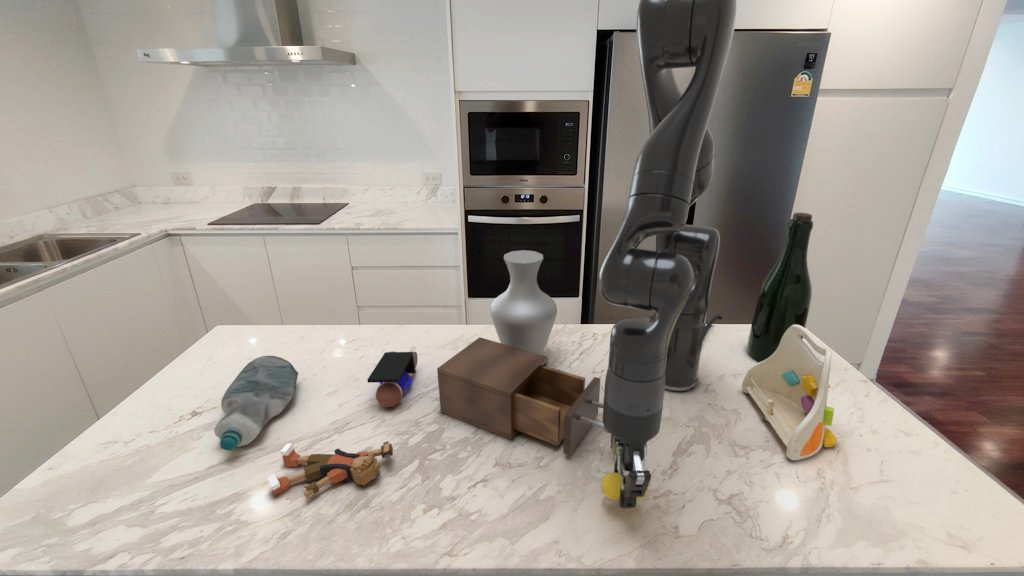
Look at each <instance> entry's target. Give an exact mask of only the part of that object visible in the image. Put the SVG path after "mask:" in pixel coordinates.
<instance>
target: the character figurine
mask: <svg viewBox="0 0 1024 576" xmlns="http://www.w3.org/2000/svg"><path fill="white" fill-rule="evenodd" d="M333 453H334V454H331V453H330V454H329V453H311V454H310V455H309V454H308V455H302V456H301V455H300V454H299V453H296V450H295V447H294V444H293V443H286V444H285V446H284V447H283V448H282V449H281V450H280V454H281V456H282V461H283V463H284V466H285V467H286V468H287V467H288V468H289V467H291V468H297V467H299V466H300V465H303V466H306V467H304V468H303V469H304V470H303V471H302V472H300V473H297V474H294V475H292V476H289V477H288V476H281V477H278V476H277V475H276V473H273V474H272V475H269V476H268V477H267V481H268V484H269V486H270V488H271V490H272V493H273V495H274V496H277V495H279V494H281V493H283V492H285V491H288V490H289V489H290V487H291V485H292V484H296V483H299V482H301V481H305V480H306V481H307V482H309V481H313V482H311V483H309V484H308V483H305V484H303V488H304V490H303V491H302V493H303V496H304V497H305V498H306V499H310V498H311V497H312V496H314V495H316V494H317V493H319V492H320V489H323V488H324V487H326V486H327V485H329V484H331V485H333V484H338V483H339V482H342V481H344V482H348V481H350V480H351V479H352V480H353V481H354V482H355V483H356V484H357V485H362V486H365V485H367V484H369V483H370V482H371V481H372V480H374V479H375V478H376V477H377V475H378V474H379V473H380V472H381V465H380V462H378V458H377V457H379V456H381V458H382V459H384V460H385V462H389V461H391V460H392V456H394V448H393V444H392V443H390V442H389V441H385V442H382V445H380V448H378V449H374V450H370V451H365V450H364V451H358V452H355V453H354V452H353V453H352V452H347V451H343V450H341V449H340V448H336V449H334V452H333ZM321 477H322V478H321ZM319 478H321V479H319ZM316 479H319V480H318V481H315V480H316Z"/></svg>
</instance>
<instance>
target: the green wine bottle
mask: <svg viewBox="0 0 1024 576" xmlns="http://www.w3.org/2000/svg"><path fill="white" fill-rule="evenodd" d="M812 219H813V215H812V214H811V213H807V212H794V213H793V215H792V217H791V218H790V219H789V221H788V223H787V231H786V235H785V239H784V243H783V246H782V249H781V251H780V255H779V256H778V258H777V260H776V261H775V263H774V265H773V266H772V267H771V269H770V270H769V271H768V273H767V275H766V276H765V277H764V279H763V281H762V283H761V285H760V288H759V292H758V295H757V299H756V303H755V308H754V312H753V317H752V321H751V326H750V329H749V334H748V339H747V344H746V351H747V353H748V354H749V355H750V356H751V357H752V358H753V359H755V360H757V361H759V362H762V361H764V360H766V359H767V358H769V357H770V356H771V355H772V354H773V353H774V352H775V351H776V350H777V348H778V346H779V344H780V341H781V339H782V337H783V335H784V333H785V332H786V331H787V329H788V328H789V327H791V326H792V325H800V326H802V327H804V328H805V329H806V327H807V322H808V317H809V314H810V308H811V301H812V297H813V287H812V280H811V276H810V271H809V266H808V253H809V252H808V250H809V244H810V238H811V233H812V231H813V228H814V221H813V220H812ZM801 339H802V340H803V341H804V338H803V337H802V336H801Z"/></svg>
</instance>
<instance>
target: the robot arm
mask: <svg viewBox="0 0 1024 576" xmlns="http://www.w3.org/2000/svg"><path fill="white" fill-rule="evenodd" d="M736 17H737V0H639V3H638V7H637V12H636V21H635V22H636V27H635V28H636V44H637V53H638V59H639V67H640V72H641V76H642V84H643V89H644V95H645V101H646V108H647V116H648V127H649V136H648V138H647V139H646V140H645V141H644V143H643V144H642V146H641V148H640V151H639V152H638V155H637V158H636V160H635V164H634V167H633V173H632V178H631V182H630V189H629V194H628V199H627V205H626V209H625V213H624V215H623V218H622V221H621V223H620V226H619V228H618V230H617V233H616V235H615V237H614V240H613V241H612V244H611V245H610V247H609V249H608V251H607V253H606V255H605V256H604V259H603V261H602V264H601V266H600V269H599V271H598V278H597V284H598V290H599V293H600V295H601V297H602V299H604V301H605V302H607V303H608V304H610V305H614V306H618V307H625V308H631V309H636V310H642V311H649V312H654V313H653V314H652V315H647V316H638V317H637V316H636V317H627V318H624V319H620V320H619V321H616V322H615V324H613V326H612V328H611V330H610V335H609V350H608V364H607V370H606V374H605V380H604V392H603V393H604V394H603V404H604V405H603V408H602V423H603V424H604V426H605V428H606V429H607V431H608V432H609V433H610V434H609V433H608V434H609V435H610V449H611V451H612V461H613V464H614V465H613V473H619V475H620V476H621V480H620V497H619V500H618V505H619V508H620V509H623V510H625V509H635V508H636V506H637V500H636V499H637V497H643V498H645V496H644V494H645V492H646V490H647V487H648V488H649V484H650V482H651V478H652V474H651V471H650V470H646V469H645V467H646V466H645V463H646V456H647V454H648V444H647V443H648V442H649V441H651V440H652V439H654V438H655V437H656V436H657V435H658V434H659V432H660V429H661V424H662V423H661V422H662V416H663V408H664V407H663V406H664V399H665V392H666V391H667V390H668V391H672V392H686V391H687V392H688V391H690V390H692V389H694V388H695V387H696V385H697V380H698V372H699V366H700V361H701V353H702V348H703V347H702V346H703V342H704V341H703V340H704V338H705V337H706V334H707V332H708V330H709V328H710V327H711V326H712V325H713V324H714V323H715V321H717V320H722V319H723V317H722V316H721V314H716V315H714V316H713V317H712V318H711V319H710V320H709V321H708V322H707V324H706V321H707V315H708V309H709V304H710V295H711V291H712V290H711V289H712V283H713V279H714V274H715V270H716V265H717V262H718V261H717V260H718V257H719V251H720V244H721V236H720V232H719V230H718V229H717V228H716V227H711V226H705V225H704V226H703V225H695V224H686V223H687V220H688V217H689V210H690V208H691V207H692V205H694V204H695V203H696V202H697V201H698V200H699V199H700V198H701V197H702V196H703V195H704V194H705V192H706V191H707V190H708V188H709V187H710V185H711V183H712V181H713V177H714V170H715V169H714V168H715V145H716V144H715V139H714V136H713V134H712V132H711V130H710V128H709V126H708V125H709V122H710V120H711V116H712V113H713V109H714V106H715V103H716V100H717V98H718V97H717V96H718V93H719V90H720V86H721V83H722V79H723V76H724V72H725V69H726V65H727V61H728V58H729V55H730V51H731V47H732V43H733V38H734V34H735V27H736ZM687 68H689V69H690V68H695V69H694V72H693V75H692V77H691V79H690V81H689V83H688V85H687V87H686V89H685V91H684V92H683V93H682V91H681V89H680V87H679V85H678V83H677V80H676V77H675V74H674V71H673V70H674V69H687ZM654 236H655V250H652V249H644V248H638V247H639V246H640V244H641V243H642V242H643V241H644V240H646V239H647V238H649V237H654ZM627 476H628V477H627ZM626 477H627V480H626Z"/></svg>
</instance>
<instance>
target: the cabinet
mask: <svg viewBox="0 0 1024 576" xmlns="http://www.w3.org/2000/svg"><path fill="white" fill-rule="evenodd" d="M543 365H544V366H547V367H549V357H548V356H546V355H543V354H542V355H540V354H536V353H533V352H529V351H526V350H522V349H519V348H515V347H512V346H508V345H505V344H501V342H498V341H494V340H491V339H487V338H483V337H480V336H479V337H478V338H476V339H475V340H474V341H473V342H471V343H470V344H468V345H467V346H465V347H464V348H463V349H462V350H460V351H459V352H457V353H456V354H455V355H453V356H452V357H450V358H449V359H448V360H447V361H445V362H444V363H442V364H441V365H439V366H438V367H437V368H436V371H437V382H438V383H437V384H438V395H439V404H440V405H439V408H440V413H443V414H445V415H447V416H450V417H452V418H455V419H457V420H460V421H462V422H465V423H467V424H470V425H472V426H475V427H477V428H480V429H482V430H484V431H488V432H490V433H493V434H495V435H497V436H500V437H502V438H505V439H507V440H510V441H512V440H513V439H514V438H515V437H516V435H517V434H518V433H519V432H520V431H518V430H515V429H514V422H513V395H514V394H515V393H516V392H517V391H518V390H519V389H520V388H521V387H522V386H523V385H524V384H525V383H526V382H527V381H528V380H529V379H530V378H531V377H532V376H533V375H534V374H535V373H536V372H537V371H538V370H539V369H540V368H541V367H542V366H543Z"/></svg>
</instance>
